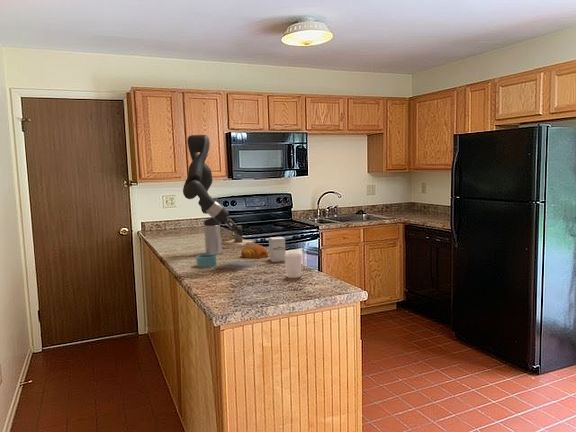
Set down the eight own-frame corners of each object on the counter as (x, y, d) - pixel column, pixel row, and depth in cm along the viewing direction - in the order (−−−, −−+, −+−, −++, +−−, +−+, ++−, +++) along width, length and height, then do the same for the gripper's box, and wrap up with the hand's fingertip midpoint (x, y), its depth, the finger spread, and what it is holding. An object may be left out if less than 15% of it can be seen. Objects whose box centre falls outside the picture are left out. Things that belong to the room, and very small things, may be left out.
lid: (235, 240, 238) (235, 224, 237) (256, 241, 232) (255, 225, 231) (220, 244, 227) (219, 227, 226) (241, 246, 221) (240, 228, 220)
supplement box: (272, 263, 235) (271, 239, 234) (269, 260, 243) (268, 237, 241) (285, 261, 237) (285, 238, 236) (282, 259, 244) (281, 236, 243)
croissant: (237, 261, 255) (235, 247, 253) (259, 253, 264) (257, 240, 263) (252, 264, 243) (249, 249, 242) (274, 256, 253) (272, 242, 252)
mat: (236, 261, 241) (236, 260, 241) (261, 264, 233) (261, 263, 233) (217, 267, 228) (217, 266, 227) (243, 270, 220) (243, 269, 219)
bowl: (205, 263, 238) (205, 253, 237) (220, 265, 233) (220, 254, 232) (192, 267, 229) (192, 257, 229) (208, 269, 224) (207, 258, 224)
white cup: (292, 273, 210) (291, 252, 209) (305, 275, 205) (305, 254, 204) (281, 276, 204) (280, 255, 203) (295, 279, 199) (294, 257, 198)
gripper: (224, 207, 219) (249, 230, 223) (220, 205, 232) (244, 227, 237) (213, 218, 218) (239, 241, 222) (210, 216, 231) (235, 237, 236)
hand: (242, 234), depth 229 cm, fingers closed on lid, 3 cm apart
